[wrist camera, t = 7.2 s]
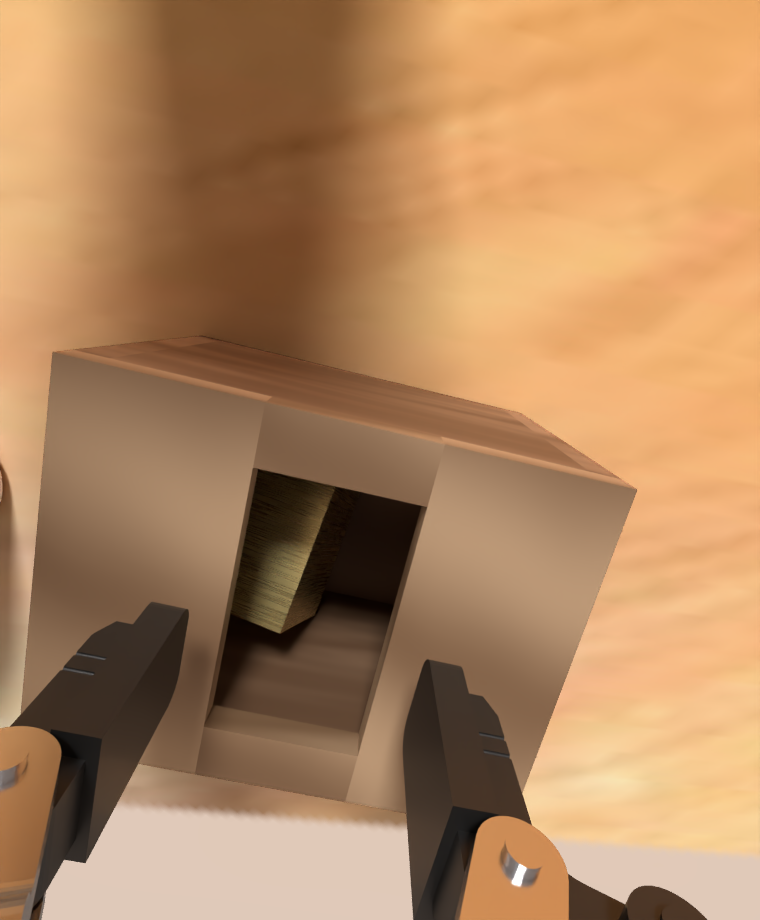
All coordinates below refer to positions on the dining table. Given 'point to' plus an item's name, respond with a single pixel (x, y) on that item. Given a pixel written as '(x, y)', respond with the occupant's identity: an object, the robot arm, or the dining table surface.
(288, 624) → the yellow wooden block
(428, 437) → the walnut tissue box
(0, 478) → the supplement bottle
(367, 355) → the dining table surface
